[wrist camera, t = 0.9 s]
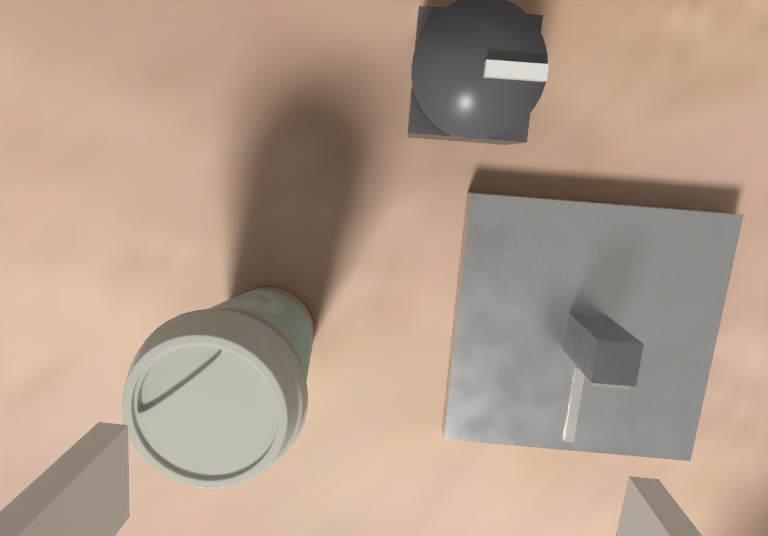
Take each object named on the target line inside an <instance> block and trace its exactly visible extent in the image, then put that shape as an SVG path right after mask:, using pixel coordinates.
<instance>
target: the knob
mask: <svg viewBox="0 0 768 536" xmlns="http://www.w3.org/2000/svg"><path fill="white" fill-rule="evenodd" d="M542 18H543V15H534V14H526V13H525V12H524V11H523V10H522V9H521V8H519V7H517V6H516V5H514V4H513V3H510V2H508V1H506V0H459V1H457V2H455V3H452V4H451V5H449V6H447V7H446V8H438V7H425V6H419V11H418V21H417V30H416V41H415V52H414V56H413V63H412V76H411V80H412V89H411V101H410V113H409V125H408V137H413V138H426V139H439V140H452V141H465V142H477V143H490V144H503V145H508V144H516V143H524V142H527V135H528V127H529V119H530V112H531V111H532V110H533V109H534V107H535V106H536V104H537V102H538V101H539V99H540V96H541V94H542V92H543V89H544V86H545V83H546V81H547V75H548V68H549V64H548V59H547V51H546V46H545V43H544V40H543V37H542V35H541V26H542Z"/></svg>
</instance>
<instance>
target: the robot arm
mask: <svg viewBox="0 0 768 536" xmlns="http://www.w3.org/2000/svg"><path fill="white" fill-rule="evenodd" d="M128 517H129V464H128V425H121V424H111V423H102V422H99V423H98V424H96V425H95V426H94V427H93V428H92V429H91V430H90V431H89V432H88V433H87V434H85V435H84V436H83V437H82V438H81V439H80V440H79V441H78V442H77V443H76V444H74V445H73V446H72V447H71V448H70V449H69V450H68V451H67V452H66V453H65V454H63V455H62V456H61V457H60V458H59V459H58V460H57V461H56V462H55V463H53V464H52V465H51V466H50V467H49V468H48V469H47V470H46V471H45V472H44V473H42V474H41V475H40V476H39V477H38V478H37V479H36V480H35V481H34V482H33V483H31V484H30V485H29V486H28V487H27V488H26V489H25V490H24V491H23V492H22V493H20V494H19V495H18V496H17V497H16V498H15V499H14V500H13V501H12V502H11V503H9V504H8V505H7V506H6V507H5V508H4V509H3V510H2V511H1V512H0V536H115V535H116V534H117V532H118V531H119V530H120V528H121V527H122V526H123V524H124V523H125V522H126V520H127V519H128ZM616 536H702V535H701V534H700V533H699V531H698V530H697V529H696V527H695V526H694V525H693V524H692V522H691V521H690V520H689V518H688V517H687V516H686V514H685V513H684V512H683V510H682V509H681V508H680V507H679V505H678V504H677V503H676V501H675V500H674V499H673V497H672V496H671V495H670V494H669V492H668V491H667V490H666V488H665V487H664V486H663V484H662V483H661V482H660V481H659V479H649V478H639V477H630V476H629V479H628V483H627V488H626V492H625V497H624V501H623V506H622V511H621V515H620V520H619V524H618V529H617V533H616Z"/></svg>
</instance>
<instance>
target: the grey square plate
mask: <svg viewBox="0 0 768 536" xmlns="http://www.w3.org/2000/svg"><path fill="white" fill-rule="evenodd" d="M742 219H743V215H740V214H734V213H728V212H716V211H704V210H691V209H679V208H666V207H653V206H641V205H628V204H616V203H603V202H591V201H578V200H565V199H553V198H540V197H528V196H515V195H502V194H490V193H477V192H468V194H467V203H466V212H465V222H464V231H463V240H462V249H461V259H460V268H459V277H458V286H457V295H456V305H455V314H454V323H453V332H452V342H451V351H450V360H449V369H448V379H447V388H446V397H445V406H444V416H443V425H442V430H443V437H444V439H447V440H459V441H470V442H482V443H493V444H504V445H516V446H527V447H538V448H550V449H561V450H572V451H584V452H595V453H606V454H618V455H629V456H641V457H652V458H663V459H675V460H686V461H690V460H691V455H692V451H693V446H694V441H695V437H696V432H697V427H698V423H699V418H700V414H701V409H702V404H703V400H704V395H705V390H706V386H707V381H708V376H709V372H710V367H711V363H712V358H713V353H714V349H715V344H716V339H717V335H718V330H719V325H720V321H721V316H722V312H723V307H724V302H725V298H726V293H727V288H728V284H729V279H730V274H731V270H732V265H733V261H734V256H735V251H736V247H737V242H738V237H739V233H740V228H741V223H742Z"/></svg>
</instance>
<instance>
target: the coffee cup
mask: <svg viewBox="0 0 768 536" xmlns="http://www.w3.org/2000/svg"><path fill="white" fill-rule="evenodd" d="M313 336H314V326H313V321H312V318H311V315H310V313H309V311H308V309H307V308H306V306H305V305H304V304H303V302H302V301H301V300H300V299H299V298H297V297H296V296H295V295H293V294H292V293H290V292H288V291H286V290H283V289H280V288H275V287H261V288H256V289H253V290H251V291H248V292H246V293H243V294H241V295H239V296H236V297H234V298H232V299H230V300H227V301H225V302H223V303H221V304H218V305H216V306H214V307H212V308H209V309H205V310H197V311H192V312H188V313H185V314H182V315H179V316H177V317H175V318H172V319H171V320H169V321H167V322H165V323H164V324H162V325H161V326H160V327H159V328H157V329H156V330H155V331H154V332H153V333H152V334H151V335H150V336H149V337H148V338H147V340H146V341H145V342H144V344H143V345H142V346H141V348H140V349H139V351H138V352H137V354H136V356H135V357H134V359H133V362H132V364H131V366H130V370H129V373H128V377H127V381H126V384H125V386H124V392H123V397H122V410H123V418H124V423H125V425H128V434H129V436H130V439H131V441H132V442H133V444H134V446H135V447H136V449H137V450H138V452H139V453H140V454H141V455H142V457H143V458H144V459H145V460H146V461H147V462H148V463H149V464H150V465H151V466H152V467H154V468H155V469H156V470H158V471H159V472H160V473H162V474H164V475H165V476H167V477H169V478H171V479H173V480H175V481H177V482H180V483H182V484H186V485H189V486H193V487H199V488H211V489H214V488H225V487H230V486H235V485H238V484H241V483H244V482H246V481H248V480H250V479H252V478H254V477H255V476H257V475H258V474H260V473H261V472H263V471H265V470H267V469H268V468H270V467H271V466H273V465H274V464H275V463H276V462H278V461H279V460H280V459H281V458H282V457H283V456H284V455H285V454H286V452H287V451H288V450H289V449H290V447H291V446H292V445H293V444H294V442H295V441H296V439H297V437H298V436H299V434H300V432H301V430H302V427H303V425H304V422H305V418H306V414H307V407H308V391H307V384H306V381H307V375H308V368H309V362H310V356H311V350H312V343H313Z"/></svg>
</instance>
